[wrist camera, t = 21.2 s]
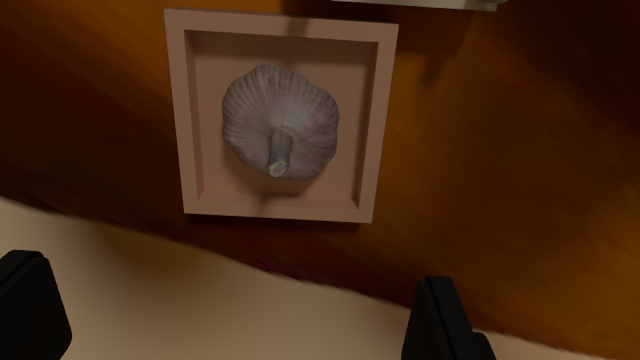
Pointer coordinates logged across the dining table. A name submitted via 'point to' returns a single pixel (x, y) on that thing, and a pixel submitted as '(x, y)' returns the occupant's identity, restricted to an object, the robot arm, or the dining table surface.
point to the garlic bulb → (280, 123)
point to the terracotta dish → (293, 55)
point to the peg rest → (441, 3)
